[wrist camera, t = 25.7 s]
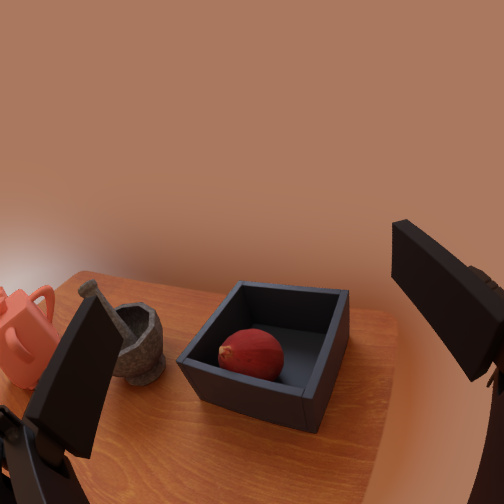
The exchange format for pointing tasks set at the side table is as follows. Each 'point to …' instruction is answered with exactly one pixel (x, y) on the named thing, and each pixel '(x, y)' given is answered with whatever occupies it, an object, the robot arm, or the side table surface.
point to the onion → (252, 354)
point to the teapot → (26, 336)
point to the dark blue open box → (293, 346)
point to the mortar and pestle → (134, 338)
